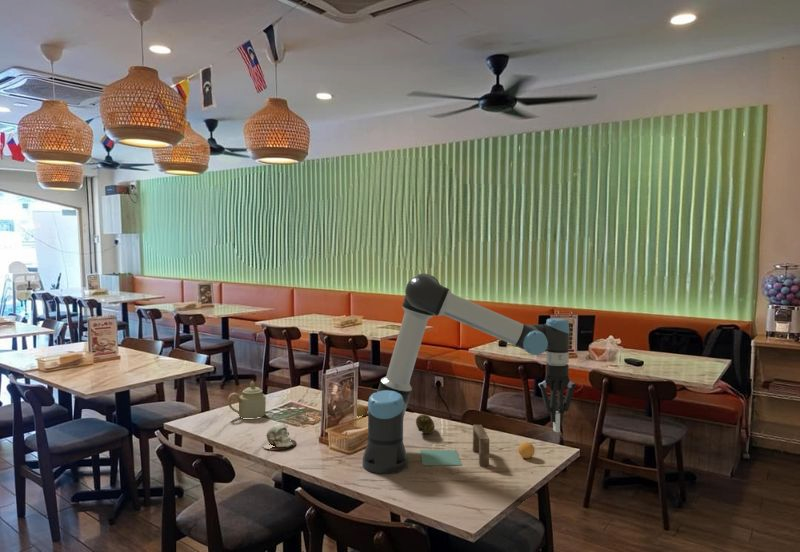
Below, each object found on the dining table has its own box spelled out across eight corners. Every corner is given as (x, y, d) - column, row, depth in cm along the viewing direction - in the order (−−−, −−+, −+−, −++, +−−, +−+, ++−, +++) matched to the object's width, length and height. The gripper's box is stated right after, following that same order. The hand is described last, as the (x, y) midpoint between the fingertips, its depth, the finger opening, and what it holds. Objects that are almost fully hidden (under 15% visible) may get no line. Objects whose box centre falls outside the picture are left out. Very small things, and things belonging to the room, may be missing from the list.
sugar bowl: (245, 423, 215) (245, 387, 214) (226, 419, 220) (226, 383, 219) (271, 414, 228) (271, 380, 227) (252, 410, 233) (252, 376, 232)
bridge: (479, 466, 174) (480, 438, 174) (472, 449, 189) (473, 424, 188) (488, 466, 174) (489, 438, 174) (480, 449, 189) (481, 424, 189)
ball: (520, 460, 179) (520, 445, 179) (516, 454, 185) (516, 439, 185) (536, 460, 179) (536, 445, 179) (531, 454, 185) (532, 439, 185)
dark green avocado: (442, 430, 210) (442, 410, 209) (428, 439, 198) (428, 419, 198) (423, 426, 214) (423, 407, 213) (408, 436, 202) (409, 415, 202)
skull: (305, 441, 193) (291, 425, 187) (288, 465, 188) (273, 450, 182) (284, 432, 200) (269, 417, 195) (267, 456, 195) (252, 441, 189)
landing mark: (422, 465, 175) (422, 464, 175) (420, 450, 188) (420, 450, 188) (461, 465, 175) (461, 464, 175) (456, 450, 188) (456, 450, 188)
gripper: (541, 365, 177) (541, 434, 178) (579, 365, 178) (579, 434, 178) (535, 361, 185) (534, 427, 186) (572, 361, 185) (571, 427, 186)
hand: (556, 430), depth 182 cm, fingers closed
